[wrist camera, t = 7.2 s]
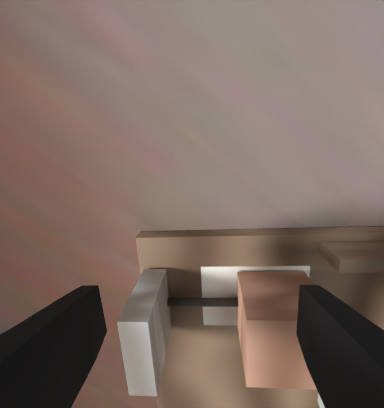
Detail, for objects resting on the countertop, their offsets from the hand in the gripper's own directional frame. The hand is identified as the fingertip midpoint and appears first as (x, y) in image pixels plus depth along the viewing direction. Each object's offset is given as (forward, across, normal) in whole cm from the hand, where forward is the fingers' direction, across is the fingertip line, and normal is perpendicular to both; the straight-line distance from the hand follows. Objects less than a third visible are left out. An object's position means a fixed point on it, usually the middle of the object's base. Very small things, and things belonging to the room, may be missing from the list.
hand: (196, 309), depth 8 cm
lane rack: (+9, -5, +9) cm, 14 cm away
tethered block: (+7, -1, +5) cm, 9 cm away
